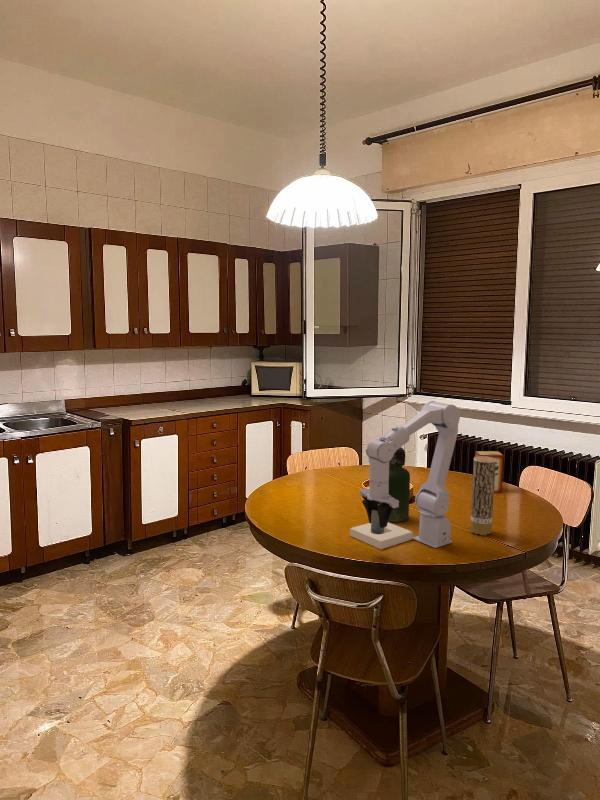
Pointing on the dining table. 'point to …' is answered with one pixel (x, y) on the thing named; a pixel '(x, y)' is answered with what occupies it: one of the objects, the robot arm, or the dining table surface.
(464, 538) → the dining table surface
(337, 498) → the dining table surface
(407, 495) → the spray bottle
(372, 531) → the peg
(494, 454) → the baking soda box
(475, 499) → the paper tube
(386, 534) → the socket
